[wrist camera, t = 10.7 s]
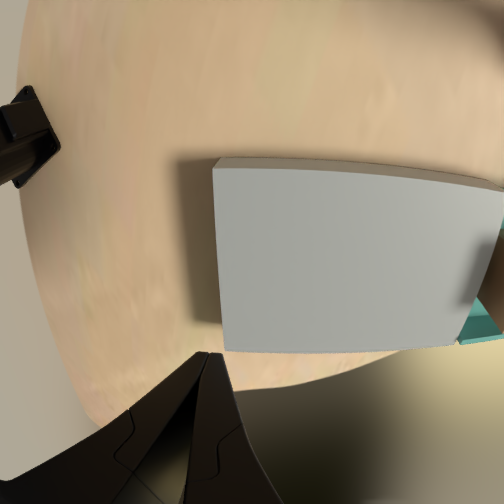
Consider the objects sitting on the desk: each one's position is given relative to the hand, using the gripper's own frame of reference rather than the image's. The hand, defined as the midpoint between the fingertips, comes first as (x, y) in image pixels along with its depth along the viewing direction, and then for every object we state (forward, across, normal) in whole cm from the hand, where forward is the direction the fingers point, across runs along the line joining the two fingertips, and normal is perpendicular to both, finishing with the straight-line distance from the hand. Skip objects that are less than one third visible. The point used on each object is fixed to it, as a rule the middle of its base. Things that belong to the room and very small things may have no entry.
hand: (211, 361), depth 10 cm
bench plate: (+13, +8, -3) cm, 16 cm away
